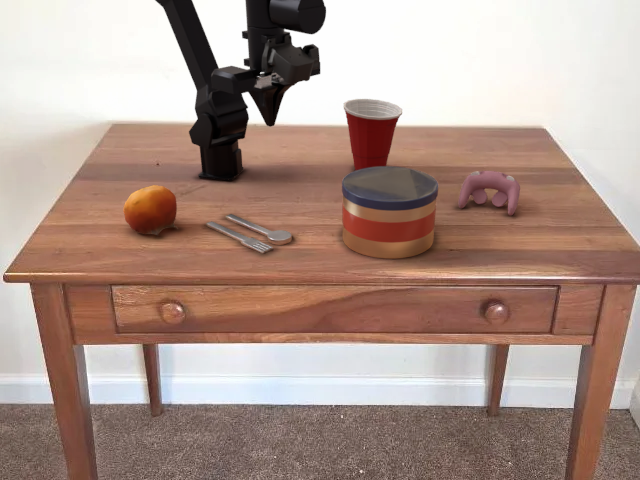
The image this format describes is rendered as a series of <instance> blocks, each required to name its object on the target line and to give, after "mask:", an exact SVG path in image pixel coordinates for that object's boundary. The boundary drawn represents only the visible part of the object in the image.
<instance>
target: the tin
mask: <svg viewBox="0 0 640 480" xmlns="http://www.w3.org/2000/svg"><path fill="white" fill-rule="evenodd" d="M438 194H439V183H438V180H437V179H436V178H434V177H433V176H432V175H430V174H429V173H426V172H424V171H421V170H418V169H415V168H410V167H405V166H404V167H403V166H392V165H386V166H378V167H369V168H363V169H359V170H354V171H351V172H349V173H347V174H346V175H345V176H344V177H343V179H342V180H341V195H342V206H341V208H342V215H341V217H342V219H341V221H342V241H343V243H344V245H345V246H346V247H347V248H348V249H350V250H352V251H353V252H355V253H357V254H360V255H363V256H367V257H370V258H375V259H376V258H377V259H386V260H387V259H392V260H393V259H404V258H410V257H414V256H417V255H420V254H422V253H424V252H426V251H427V250H429V249H430V248H431V247H432V245H433V243H434V236H435V235H434V234H435V226H436V213H437V198H438Z"/></svg>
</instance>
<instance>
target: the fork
mask: <svg viewBox="0 0 640 480" xmlns="http://www.w3.org/2000/svg"><path fill="white" fill-rule="evenodd" d="M205 226H206V227H207V228H210V229H211V230H214V231H216V232H217V233H220V234H222V235H225V236H227V237H230V238H231V239H233V240H236V241H237V242H240V244H241V246H244V247H246V248H249V249H251V250H253V251H255V252H258V253H260V254H261V255H263V254H265V253H268V252H270V251H272V250H274V246H272V245H269V244H267V243H265V242H262V241H261V240H259V239H257V238H254V237H249V236H246V235H244V234H242V233H239V232H237V231H235V230H233V229H230V228H228V227H227V226H223V225H221V224H219V223H217V222H214V221H213V220H211V221H209V222H206V223H205Z"/></svg>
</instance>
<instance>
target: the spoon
mask: <svg viewBox="0 0 640 480" xmlns="http://www.w3.org/2000/svg"><path fill="white" fill-rule="evenodd" d="M225 219H226V220H228V221H230V222H233V223H235V224H237V225H240V226H242V227H244V228H246V229H249V230H250V231H253V232H255V233H258V234H260V235H262V236H265V237H267V242H268V243H270V244H272V245H276V246H277V245H278V246H281V245H287V244H289V243H290V242H291V241H292V232H290V231H288V230H284V229H278V230H277V229H276V230H270V229H267V228H265V227H263V226H260V225H259V224H256V223H254V222H251V221H249V220H247V219H244V218H242V217H240V216H237V215H235V214H233V213H230V214H227V215H225Z"/></svg>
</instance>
